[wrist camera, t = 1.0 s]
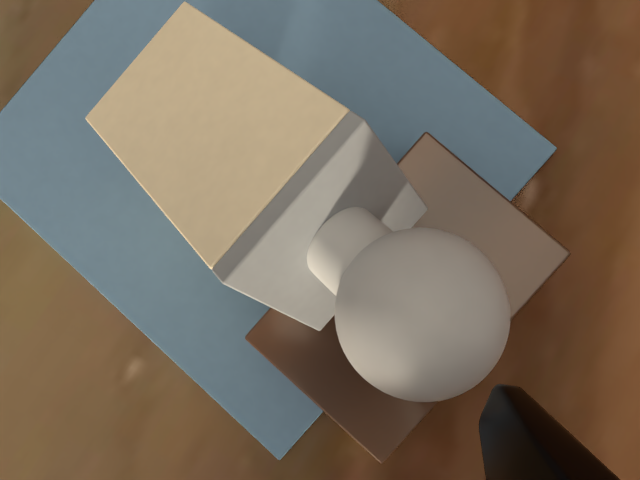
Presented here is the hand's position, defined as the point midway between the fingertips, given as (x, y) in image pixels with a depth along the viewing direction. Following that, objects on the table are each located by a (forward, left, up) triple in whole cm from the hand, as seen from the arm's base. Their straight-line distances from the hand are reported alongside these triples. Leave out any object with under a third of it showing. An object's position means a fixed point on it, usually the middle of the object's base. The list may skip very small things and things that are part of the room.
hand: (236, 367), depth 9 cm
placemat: (+6, -3, -12) cm, 14 cm away
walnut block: (-2, -3, -12) cm, 13 cm away
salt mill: (+3, -3, -12) cm, 13 cm away
